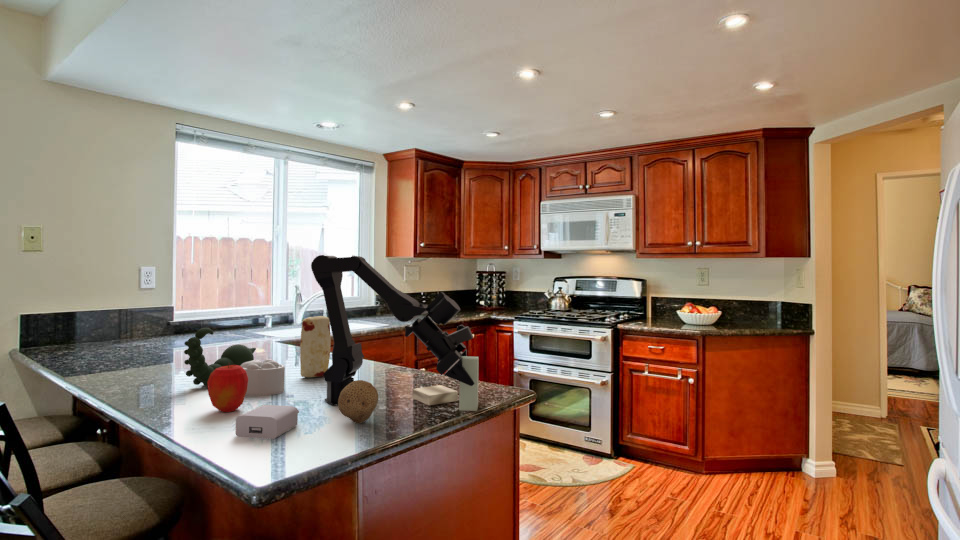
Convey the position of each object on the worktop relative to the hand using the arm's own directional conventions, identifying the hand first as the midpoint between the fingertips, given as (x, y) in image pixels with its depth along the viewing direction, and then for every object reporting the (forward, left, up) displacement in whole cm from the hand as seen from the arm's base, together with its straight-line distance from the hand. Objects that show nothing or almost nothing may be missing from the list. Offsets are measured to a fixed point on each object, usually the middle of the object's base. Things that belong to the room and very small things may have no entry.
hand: (474, 380), depth 131 cm
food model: (-21, +60, -7) cm, 64 cm away
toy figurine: (-47, +66, -7) cm, 81 cm away
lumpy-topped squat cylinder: (-40, +49, -7) cm, 64 cm away
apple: (-52, +32, -7) cm, 61 cm away
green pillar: (-1, +1, -7) cm, 7 cm away
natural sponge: (-30, +4, -7) cm, 31 cm away
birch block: (-4, +13, -7) cm, 16 cm away
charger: (-46, +12, -8) cm, 48 cm away
